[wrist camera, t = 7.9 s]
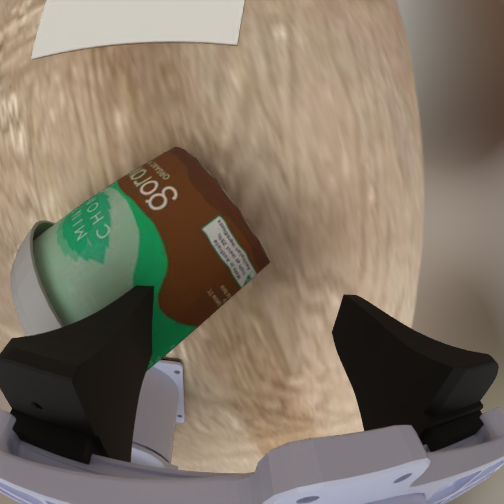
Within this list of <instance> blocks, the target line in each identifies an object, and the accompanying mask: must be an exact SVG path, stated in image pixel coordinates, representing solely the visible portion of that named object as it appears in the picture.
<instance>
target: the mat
mask: <svg viewBox="0 0 504 504" xmlns="http://www.w3.org/2000/svg"><path fill="white" fill-rule="evenodd" d="M244 2H245V0H47V1H46V4H45V8H44V11H43V14H42V17H41V21H40V24H39V28H38V31H37V35H36V39H35V43H34V48H33V52H32V57H31V59H37V58H41V57H45V56H50V55H54V54H59V53H64V52H70V51H75V50H81V49H88V48H95V47H103V46H112V45H123V44H137V43H163V42H182V43H209V44H223V45H234V46H237V43H238V37H239V30H240V24H241V19H242V13H243V7H244Z"/></svg>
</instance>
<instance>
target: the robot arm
mask: <svg viewBox="0 0 504 504" xmlns="http://www.w3.org/2000/svg"><path fill="white" fill-rule="evenodd" d="M153 302H154V286H139V285H136V286H135V287H133V288H132V289H131V290H129V291H128V292H126V293H125V294H124V295H122V296H121V297H119V298H118V299H117V300H115V301H113V302H112V303H110V304H109V305H107V306H106V307H104V308H103V309H101V310H99V311H97V312H96V313H94V314H92V315H90V316H88V317H86V318H84V319H82V320H80V321H77V322H75V323H72V324H69V325H67V326H64V327H62V328H59V329H55V330H52V331H49V332H45V333H41V334H36V335H31V336H25V337H19V338H12V339H11V340H10V341H9V343H8V344H7V345H6V347H5V348H4V349H3V351H2V352H1V353H0V389H1V391H2V392H3V394H4V396H5V397H6V399H7V401H8V402H9V404H10V406H11V407H12V410H11V412H10V413H8V412H6V411H4V410H2V409H0V492H1V493H3V494H4V495H6V496H8V497H10V498H12V499H13V500H15V501H17V502H19V503H21V504H445V503H447V502H449V501H451V500H452V499H454V498H456V497H458V496H459V495H461V494H463V493H465V492H466V491H468V490H469V489H471V488H473V487H474V486H476V485H478V484H479V483H481V482H482V481H484V480H486V479H487V478H488V477H490V476H491V475H492V474H493V473H494V472H495V471H497V470H498V469H499V468H500V467H501V466H502V465H503V464H504V414H503V412H502V411H501V409H500V408H499V407H496V408H493V409H491V410H489V411H487V412H485V413H483V414H482V413H481V411H480V410H481V409H482V408H483V404H482V403H481V402H480V400H481V399H482V397H483V396H484V395H485V393H486V392H487V390H488V389H489V387H490V386H491V384H492V383H493V381H494V380H495V378H496V376H497V373H498V364H497V362H496V361H495V360H494V359H493V358H492V357H491V356H490V355H488V354H483V353H478V352H472V351H467V350H464V349H460V348H457V347H453V346H450V345H447V344H444V343H442V342H439V341H436V340H434V339H431V338H429V337H427V336H425V335H423V334H421V333H419V332H416V331H414V330H413V329H411V328H409V327H407V326H406V325H404V324H402V323H401V322H399V321H397V320H396V319H394V318H393V317H391V316H389V315H388V314H386V313H385V312H383V311H382V310H380V309H379V308H377V307H376V306H374V305H373V304H371V303H370V302H368V301H366V300H365V299H363V298H361V297H359V296H357V295H343V299H342V302H341V305H340V309H339V312H338V315H337V318H336V321H335V324H334V327H333V331H332V335H333V339H334V343H335V346H336V350H337V353H338V355H339V357H340V360H341V362H342V364H343V367H344V369H345V371H346V374H347V376H348V378H349V381H350V383H351V385H352V387H353V390H354V393H355V396H356V399H357V402H358V406H359V410H360V413H361V418H362V422H363V427H364V431H363V432H357V433H350V434H343V435H335V436H327V437H317V438H309V439H304V440H299V441H293V442H288V443H286V444H284V445H281V446H279V447H277V448H274V449H272V450H270V451H269V452H268V453H267V454H266V455H265V456H264V457H263V458H262V459H261V460H260V461H259V462H258V465H257V467H256V470H255V472H251V473H209V472H195V471H184V470H178V467H177V466H175V465H172V464H171V459H172V449H173V440H174V432H175V423H184V422H185V411H184V389H183V365H182V364H181V363H180V362H174V361H166V360H159V361H158V362H157V363H156V364H155V365H154V366H153V367H151V368H150V369H149V370H148V371H147V368H148V365H149V362H150V359H151V356H152V353H153V352H152V318H153ZM176 370H178V371H176ZM146 371H147V372H146Z"/></svg>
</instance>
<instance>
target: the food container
mask: <svg viewBox="0 0 504 504" xmlns="http://www.w3.org/2000/svg"><path fill="white" fill-rule="evenodd" d="M269 263H270V261H269V259H268V257H267V255H266V253H265V251H264V249H263V247H262V245H261V244H260V242H259V240H258V238H257V237H256V235H255V234H254V232H253V231H252V229H251V227H250V226H249V224H248V223H247V221H246V220H245V218H244V216H243V215H242V213H241V212H240V210H239V209H238V208H237V206H236V205H235V204H234V202H233V201H232V200H231V198H230V197H229V196H228V194H227V193H226V192H225V190H224V189H223V188H222V187H221V185H220V184H219V183H218V181H217V180H216V179H215V178H214V177H213V176H212V175H211V174H210V173H209V172H208V171H207V169H206V168H205V167H204V166H203V165H202V164H201V163H200V162H199V161H198V160H197V159H196V158H195V157H193V156H192V155H191V154H189V153H188V152H187V151H186V150H184V149H182V148H180V147H175V148H173V149H171V150H169V151H167V152H165V153H164V154H162V155H160V156H158V157H156V158H155V159H153V160H151V161H149V162H148V163H146V164H144V165H143V166H141V167H139V168H137V169H136V170H134V171H132V172H131V173H129V174H127V175H126V176H124V177H123V178H121V179H119V180H118V181H116V182H115V183H113V184H111V185H110V186H108V187H107V188H105V189H104V190H102V191H101V192H99V193H98V194H96V195H95V196H93V197H92V198H90V199H89V200H87V201H86V202H84V203H83V204H81V205H80V206H79V207H77V208H76V209H74V210H73V211H72V212H70V213H69V214H67V215H66V216H65V217H63V218H62V219H61V220H59V221H58V222H57V223H55V224H54V223H52V222H49V221H39V222H37V223H35V225H34V226H33V228H32V229H31V230H30V232H29V233H28V235H27V236H26V238H25V239H24V241H23V242H22V244H21V246H20V247H19V249H18V251H17V254H16V258H15V261H14V262H13V265H12V270H11V291H12V298H13V302H14V306H15V309H16V312H17V316H18V319H19V321H20V323H21V325H22V328H23V330H24V332H25V334H26V336H31V335H36V334H41V333H45V332H49V331H52V330H55V329H59V328H62V327H64V326H67V325H69V324H72V323H75V322H77V321H80V320H82V319H84V318H86V317H88V316H90V315H92V314H94V313H96V312H97V311H99V310H101V309H103V308H104V307H106V306H107V305H109V304H110V303H112V302H113V301H115V300H117V299H118V298H119V297H121V296H122V295H124V294H125V293H126V292H128V291H129V290H131V289H132V288H133V287H135V286H136V285H139V286H154V302H153V318H152V352H153V353H152V356H151V359H150V362H149V365H148V368H147V371H148V370H149V369H150V368H151V367H153V366H154V365H155V364H156V363H157V362H158V361H159V360H161V359H162V358H163V357H164V356H165V355H166V354H168V353H169V352H170V351H171V350H172V349H173V348H174V347H176V346H177V345H178V344H179V343H180V342H181V341H182V340H184V339H185V338H186V337H187V336H188V335H189V334H190V333H192V332H193V331H194V330H195V329H196V328H197V327H198V326H200V325H201V324H202V323H203V322H204V321H205V320H206V319H207V318H209V317H210V316H211V315H212V314H213V313H214V312H215V311H216V310H218V309H219V308H220V307H221V306H222V305H223V304H224V303H225V302H227V301H228V300H229V299H230V298H231V297H232V296H233V295H234V294H236V293H237V292H238V291H239V290H240V289H241V288H242V287H243V286H244V285H246V284H247V283H248V282H249V281H250V280H251V279H252V278H253V277H254V276H256V275H257V274H258V273H259V272H260V271H261V270H262V269H263V268H264V267H265V266H267V265H268V264H269ZM147 371H146V372H147Z"/></svg>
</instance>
